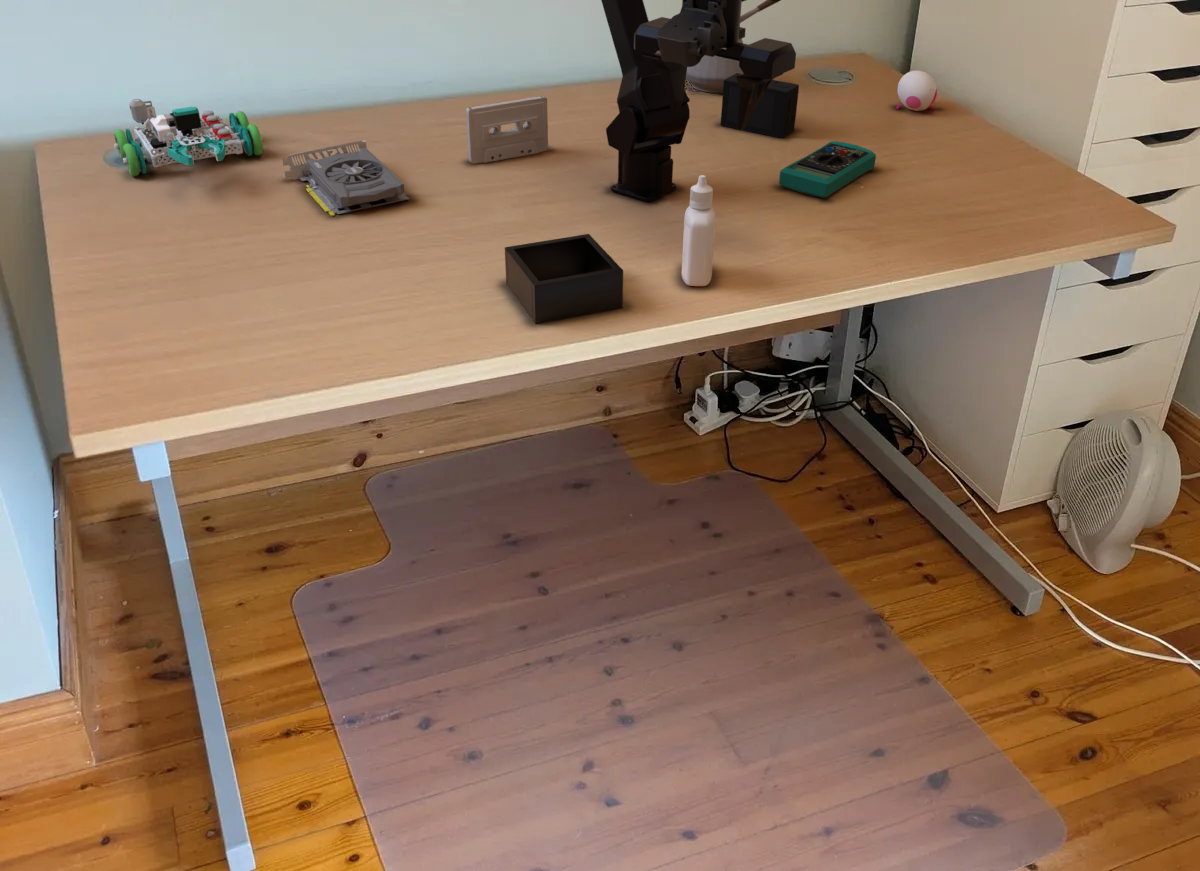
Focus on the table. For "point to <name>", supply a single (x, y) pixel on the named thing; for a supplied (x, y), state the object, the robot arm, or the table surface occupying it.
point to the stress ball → (917, 91)
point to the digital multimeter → (827, 169)
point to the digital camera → (763, 108)
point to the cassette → (510, 141)
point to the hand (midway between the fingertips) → (708, 120)
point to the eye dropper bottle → (698, 235)
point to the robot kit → (184, 137)
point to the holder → (563, 278)
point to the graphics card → (346, 179)
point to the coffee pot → (718, 64)
